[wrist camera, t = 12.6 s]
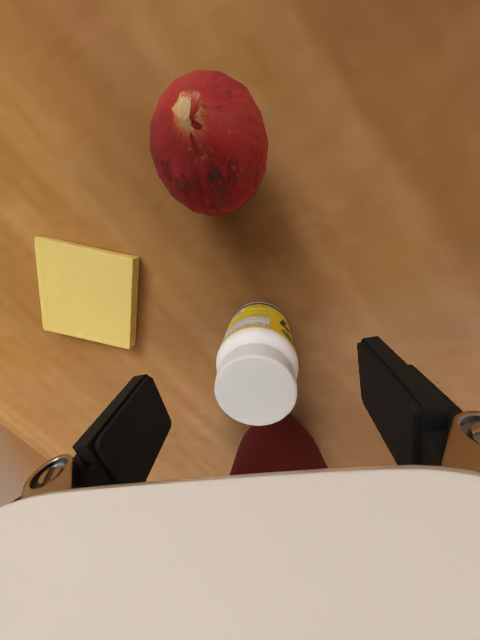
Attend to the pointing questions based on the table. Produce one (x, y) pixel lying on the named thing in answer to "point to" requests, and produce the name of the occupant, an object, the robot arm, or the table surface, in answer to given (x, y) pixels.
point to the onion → (209, 142)
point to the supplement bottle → (257, 366)
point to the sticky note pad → (87, 291)
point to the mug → (277, 449)
